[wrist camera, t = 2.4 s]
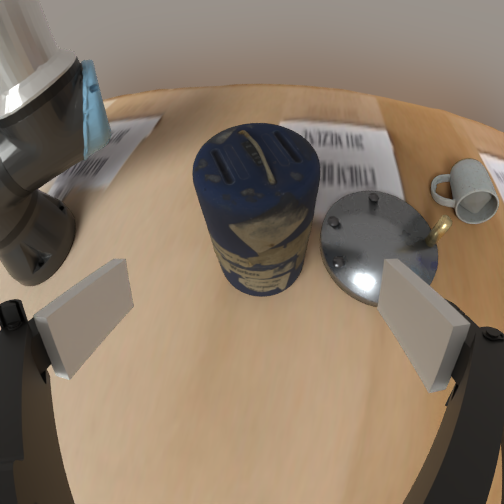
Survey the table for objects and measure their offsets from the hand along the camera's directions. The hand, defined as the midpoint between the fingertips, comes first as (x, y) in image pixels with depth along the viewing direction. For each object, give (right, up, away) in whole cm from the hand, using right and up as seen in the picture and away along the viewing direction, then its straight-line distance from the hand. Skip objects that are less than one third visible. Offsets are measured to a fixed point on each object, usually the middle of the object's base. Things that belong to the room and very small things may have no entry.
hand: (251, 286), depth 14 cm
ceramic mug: (+33, +9, +24) cm, 41 cm away
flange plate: (+16, +2, +21) cm, 26 cm away
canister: (+1, 0, +21) cm, 21 cm away
